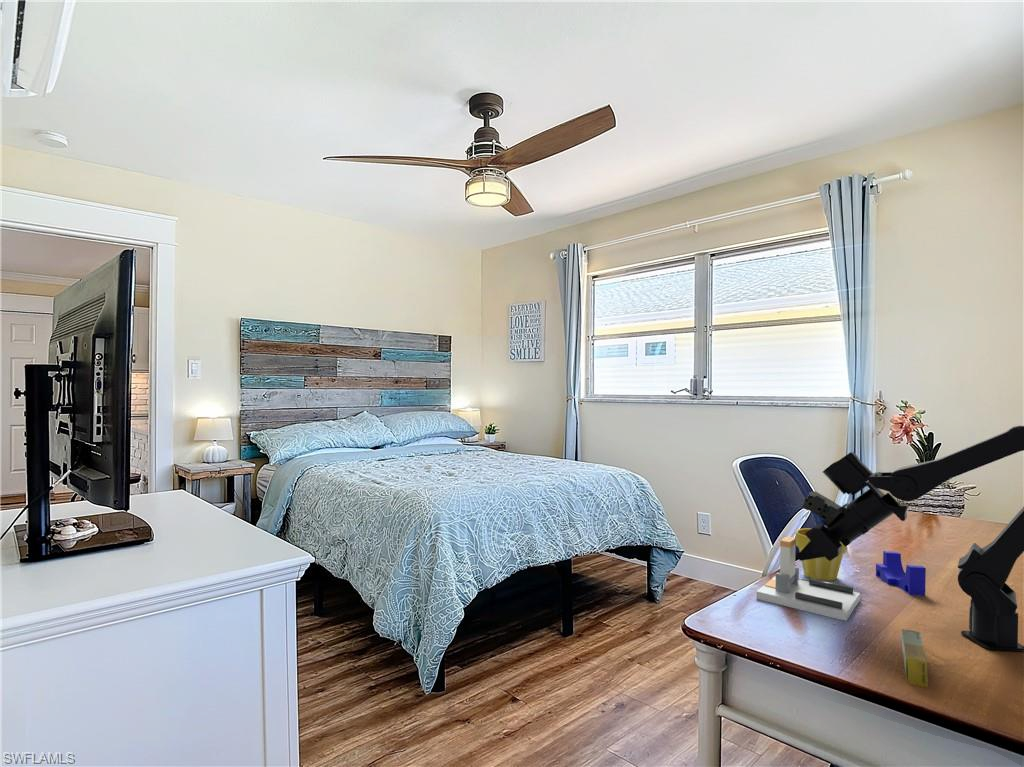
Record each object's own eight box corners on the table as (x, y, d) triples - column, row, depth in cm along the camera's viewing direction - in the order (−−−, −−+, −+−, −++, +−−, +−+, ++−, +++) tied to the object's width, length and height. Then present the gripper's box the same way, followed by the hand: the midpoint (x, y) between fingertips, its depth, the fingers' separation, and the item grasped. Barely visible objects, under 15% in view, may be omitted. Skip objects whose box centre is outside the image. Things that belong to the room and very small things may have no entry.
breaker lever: (795, 582, 121) (796, 537, 121) (788, 588, 117) (789, 542, 117) (785, 580, 122) (786, 536, 122) (778, 586, 118) (779, 540, 118)
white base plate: (859, 600, 117) (860, 575, 117) (846, 620, 106) (846, 593, 106) (776, 581, 127) (776, 559, 127) (756, 598, 117) (756, 574, 117)
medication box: (901, 652, 94) (901, 628, 94) (921, 656, 93) (921, 631, 93) (906, 684, 84) (905, 657, 84) (928, 689, 83) (928, 661, 83)
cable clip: (875, 576, 133) (876, 550, 133) (897, 577, 132) (897, 551, 132) (901, 594, 121) (902, 566, 121) (925, 596, 121) (925, 567, 121)
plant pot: (819, 585, 125) (820, 540, 125) (784, 570, 135) (785, 529, 135) (857, 582, 128) (858, 538, 128) (820, 567, 138) (821, 527, 138)
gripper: (840, 475, 122) (782, 518, 129) (819, 486, 107) (756, 533, 115) (882, 519, 117) (820, 561, 124) (867, 536, 102) (797, 582, 109)
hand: (798, 558), depth 118 cm, fingers closed
